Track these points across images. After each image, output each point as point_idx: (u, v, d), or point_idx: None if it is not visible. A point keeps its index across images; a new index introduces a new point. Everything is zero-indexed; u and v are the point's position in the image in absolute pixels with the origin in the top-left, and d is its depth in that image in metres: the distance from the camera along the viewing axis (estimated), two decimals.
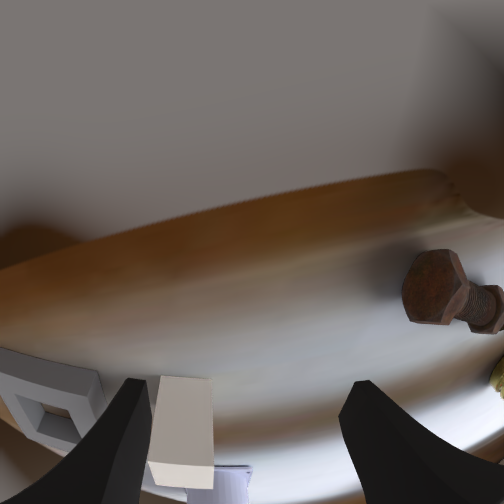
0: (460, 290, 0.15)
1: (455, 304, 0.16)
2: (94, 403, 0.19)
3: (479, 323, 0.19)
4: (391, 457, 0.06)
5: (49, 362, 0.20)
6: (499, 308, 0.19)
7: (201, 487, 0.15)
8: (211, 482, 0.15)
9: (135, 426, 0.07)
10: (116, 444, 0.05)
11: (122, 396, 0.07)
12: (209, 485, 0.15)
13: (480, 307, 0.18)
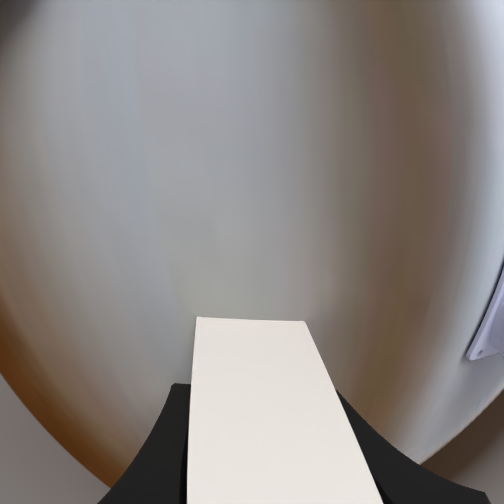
0: None
1: None
2: None
3: None
4: None
5: None
6: None
7: None
8: None
9: None
10: (179, 453, 0.06)
11: (174, 402, 0.07)
12: None
13: None
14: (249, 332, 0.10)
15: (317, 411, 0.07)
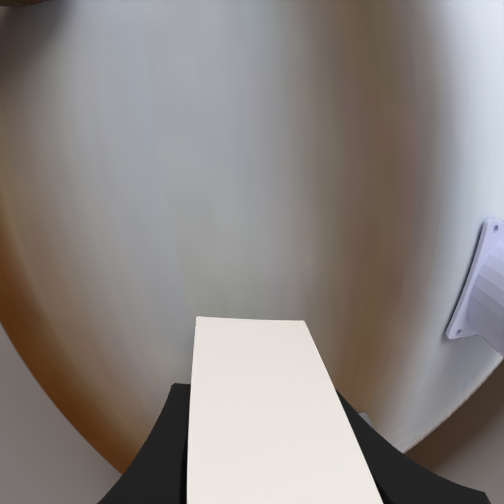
0: None
1: None
2: None
3: None
4: None
5: None
6: None
7: None
8: None
9: None
10: (179, 453, 0.06)
11: (174, 402, 0.07)
12: None
13: None
14: (249, 332, 0.10)
15: (317, 411, 0.07)
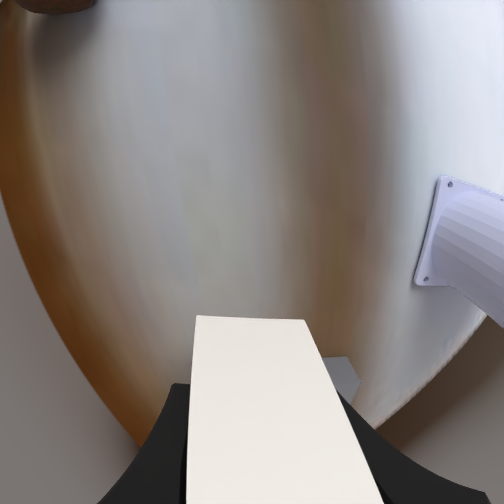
0: None
1: None
2: None
3: None
4: None
5: None
6: None
7: None
8: None
9: None
10: (179, 453, 0.06)
11: (174, 402, 0.07)
12: None
13: None
14: (249, 331, 0.10)
15: (317, 410, 0.07)
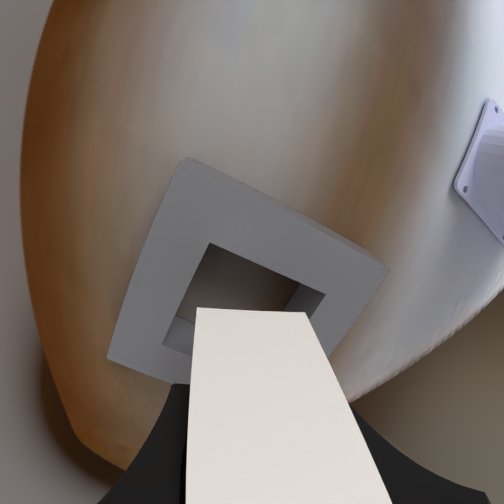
0: None
1: None
2: (219, 177, 0.12)
3: None
4: None
5: None
6: None
7: None
8: None
9: None
10: (179, 453, 0.06)
11: (174, 402, 0.07)
12: None
13: None
14: (249, 322, 0.10)
15: (319, 400, 0.07)
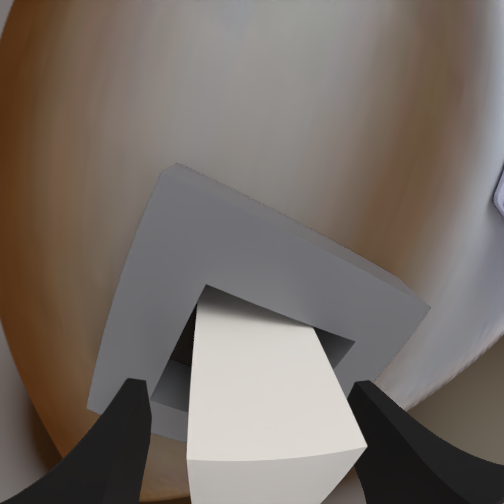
0: None
1: None
2: (218, 193, 0.09)
3: None
4: (391, 457, 0.06)
5: None
6: None
7: (344, 464, 0.06)
8: (310, 458, 0.05)
9: (135, 426, 0.07)
10: (116, 444, 0.05)
11: (122, 396, 0.07)
12: (337, 457, 0.05)
13: None
14: None
15: (302, 355, 0.09)
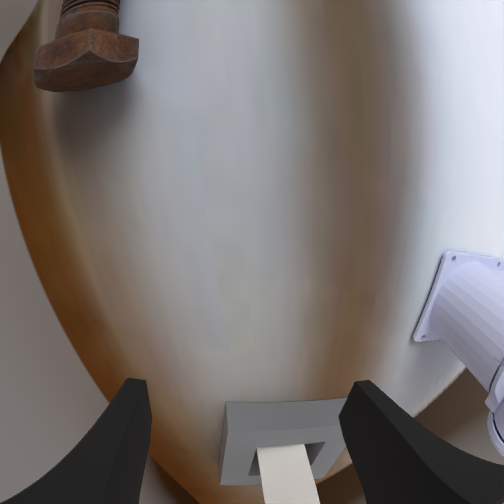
0: (41, 63, 0.08)
1: (59, 50, 0.08)
2: (250, 423, 0.20)
3: None
4: (391, 457, 0.06)
5: (222, 434, 0.23)
6: None
7: (314, 495, 0.17)
8: (299, 497, 0.16)
9: (135, 426, 0.07)
10: (116, 444, 0.05)
11: (122, 396, 0.07)
12: (308, 495, 0.16)
13: None
14: None
15: (298, 459, 0.20)
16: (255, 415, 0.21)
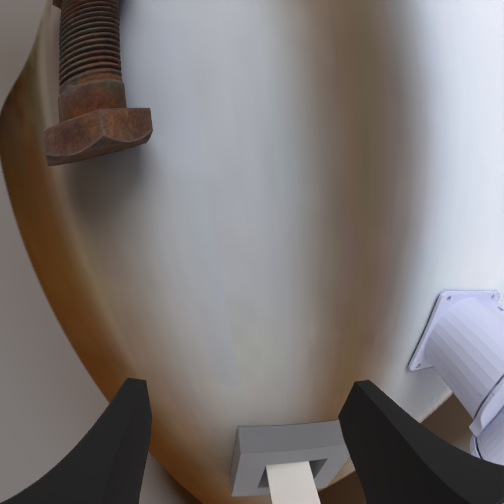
0: (52, 148, 0.10)
1: (70, 134, 0.10)
2: (260, 445, 0.21)
3: None
4: (391, 457, 0.06)
5: (234, 452, 0.25)
6: None
7: None
8: None
9: (135, 426, 0.07)
10: (116, 444, 0.05)
11: (122, 396, 0.07)
12: None
13: (71, 35, 0.09)
14: None
15: (303, 475, 0.21)
16: (264, 438, 0.22)
